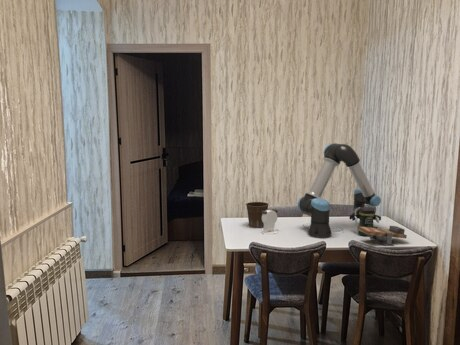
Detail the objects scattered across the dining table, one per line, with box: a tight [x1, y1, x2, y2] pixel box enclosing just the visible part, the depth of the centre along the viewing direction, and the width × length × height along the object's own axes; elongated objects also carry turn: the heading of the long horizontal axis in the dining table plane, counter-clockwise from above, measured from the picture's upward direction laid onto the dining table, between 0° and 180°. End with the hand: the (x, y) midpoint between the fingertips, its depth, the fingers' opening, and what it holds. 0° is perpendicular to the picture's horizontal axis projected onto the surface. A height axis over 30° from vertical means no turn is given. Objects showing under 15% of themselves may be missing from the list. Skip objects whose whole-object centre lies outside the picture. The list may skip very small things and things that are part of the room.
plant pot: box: [245, 201, 269, 229], centre depth 276 cm, size 16×16×16 cm
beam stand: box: [369, 226, 395, 247], centre depth 238 cm, size 6×16×8 cm, turn 12°
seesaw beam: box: [357, 225, 408, 239], centre depth 238 cm, size 26×12×5 cm, turn 101°
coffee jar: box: [357, 206, 376, 237], centre depth 253 cm, size 10×8×19 cm
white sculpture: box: [260, 208, 279, 235], centre depth 261 cm, size 12×11×15 cm
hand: (367, 220), depth 249 cm, fingers open, 13 cm apart
